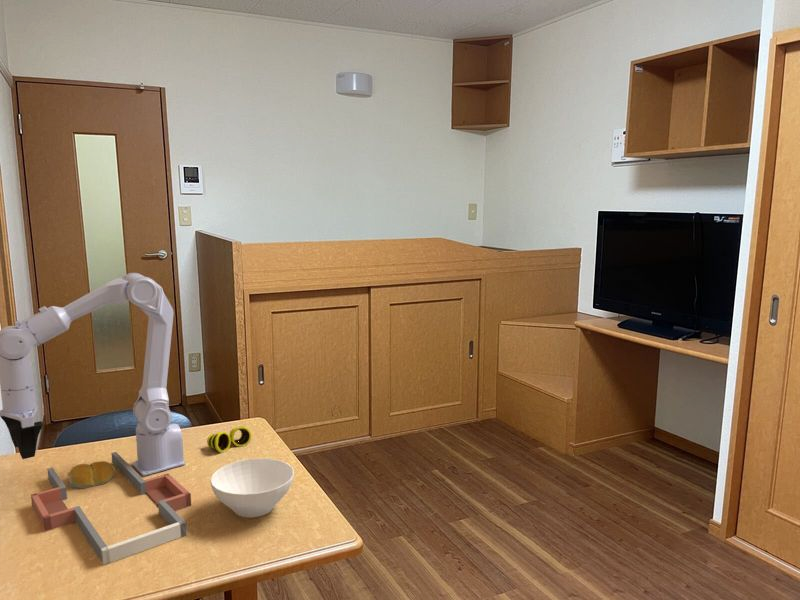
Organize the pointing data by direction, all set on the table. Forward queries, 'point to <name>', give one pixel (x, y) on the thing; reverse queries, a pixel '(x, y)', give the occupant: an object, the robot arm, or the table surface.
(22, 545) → the table surface
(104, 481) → the bread roll
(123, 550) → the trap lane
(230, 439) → the opera glasses
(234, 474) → the bowl
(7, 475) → the table surface
